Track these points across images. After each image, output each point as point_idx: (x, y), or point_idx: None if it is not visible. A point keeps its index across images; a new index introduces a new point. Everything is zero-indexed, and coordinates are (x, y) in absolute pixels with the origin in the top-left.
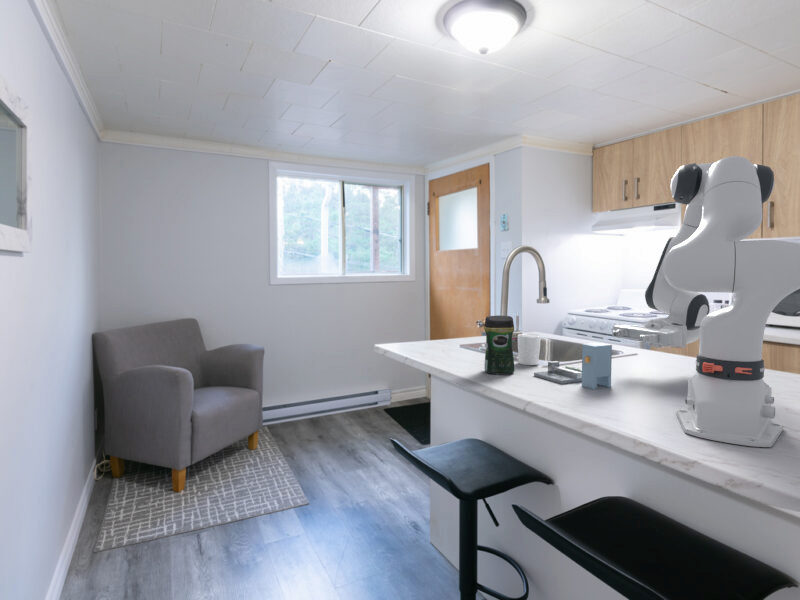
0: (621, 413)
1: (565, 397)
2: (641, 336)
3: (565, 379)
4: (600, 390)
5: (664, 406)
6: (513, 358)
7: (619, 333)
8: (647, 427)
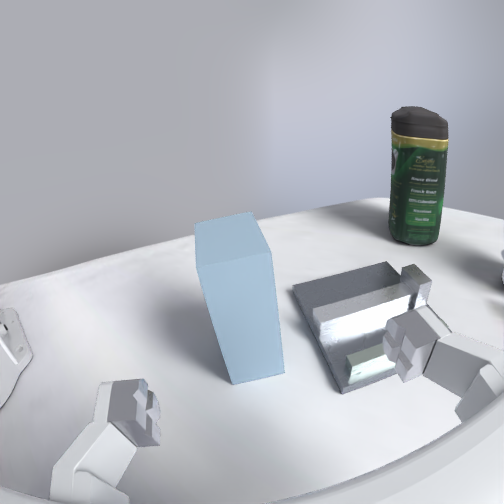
0: (88, 297)
1: (194, 269)
2: (127, 380)
3: (306, 295)
4: (209, 341)
5: (57, 374)
6: (407, 212)
7: (405, 354)
8: (48, 294)
